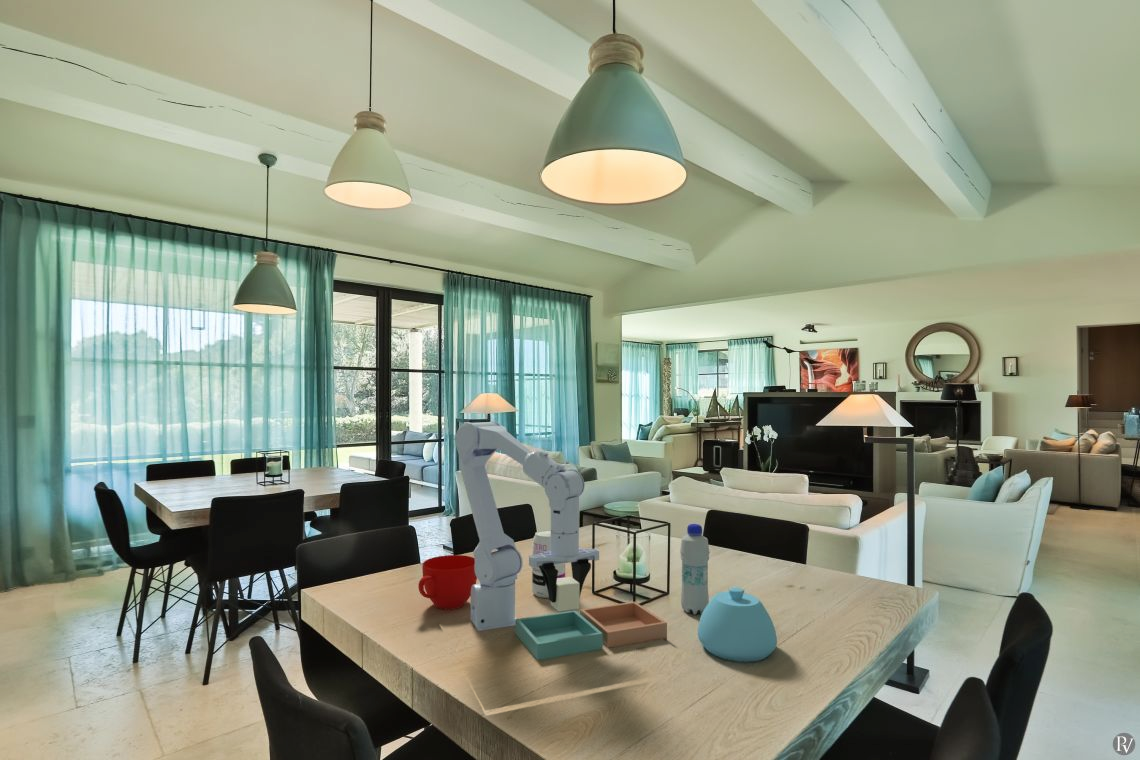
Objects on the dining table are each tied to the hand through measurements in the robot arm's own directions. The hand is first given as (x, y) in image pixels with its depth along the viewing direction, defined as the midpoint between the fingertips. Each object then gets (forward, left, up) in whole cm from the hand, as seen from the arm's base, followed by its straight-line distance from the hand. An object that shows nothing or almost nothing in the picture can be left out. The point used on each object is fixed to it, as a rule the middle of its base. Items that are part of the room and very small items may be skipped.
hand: (564, 599), depth 119 cm
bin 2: (+13, 0, -9) cm, 16 cm away
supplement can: (+8, +29, -9) cm, 31 cm away
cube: (0, 0, -1) cm, 1 cm away
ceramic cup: (-18, +29, -9) cm, 35 cm away
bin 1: (-1, 0, -9) cm, 9 cm away
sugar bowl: (+31, -15, -9) cm, 35 cm away
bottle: (+35, +5, -9) cm, 36 cm away
